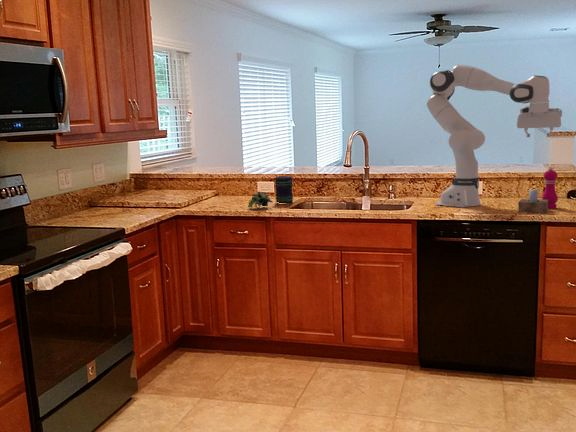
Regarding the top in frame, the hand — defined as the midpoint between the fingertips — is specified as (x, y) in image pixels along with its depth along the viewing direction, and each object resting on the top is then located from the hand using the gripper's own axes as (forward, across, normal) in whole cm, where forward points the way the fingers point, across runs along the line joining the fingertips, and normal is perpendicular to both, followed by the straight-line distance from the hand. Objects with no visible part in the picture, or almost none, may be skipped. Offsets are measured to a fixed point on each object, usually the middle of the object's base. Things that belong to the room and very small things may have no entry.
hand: (538, 137), depth 299 cm
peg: (+34, -1, +20) cm, 40 cm away
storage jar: (+34, +131, +27) cm, 138 cm away
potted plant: (+34, +135, +48) cm, 147 cm away
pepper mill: (+34, -7, +8) cm, 36 cm away
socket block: (+34, -1, +20) cm, 39 cm away
